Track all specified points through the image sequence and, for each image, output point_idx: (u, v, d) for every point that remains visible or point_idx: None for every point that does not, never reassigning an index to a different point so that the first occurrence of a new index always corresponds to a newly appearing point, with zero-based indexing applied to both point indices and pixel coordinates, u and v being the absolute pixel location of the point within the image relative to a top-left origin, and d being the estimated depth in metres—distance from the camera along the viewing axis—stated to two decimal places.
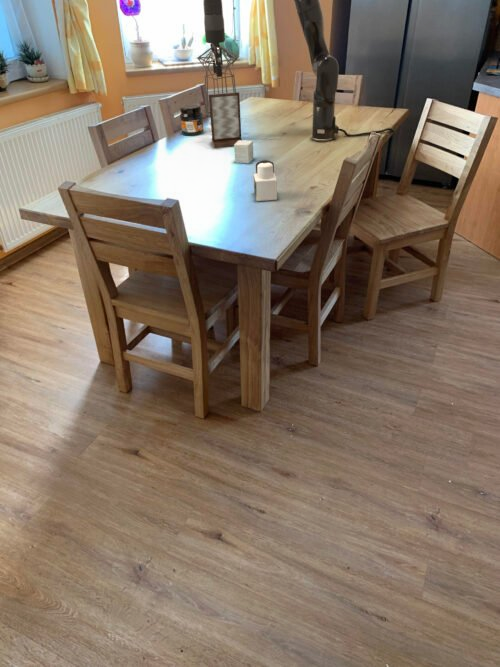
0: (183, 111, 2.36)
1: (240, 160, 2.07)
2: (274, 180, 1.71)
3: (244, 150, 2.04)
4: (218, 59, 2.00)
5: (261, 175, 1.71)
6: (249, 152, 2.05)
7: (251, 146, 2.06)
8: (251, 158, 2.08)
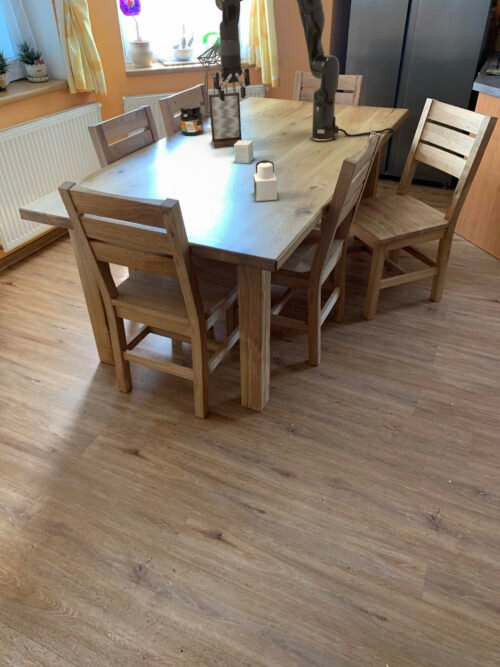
0: (183, 111, 2.36)
1: (240, 160, 2.07)
2: (274, 180, 1.71)
3: (244, 150, 2.04)
4: None
5: (261, 175, 1.71)
6: (249, 152, 2.05)
7: (251, 146, 2.06)
8: (251, 158, 2.08)
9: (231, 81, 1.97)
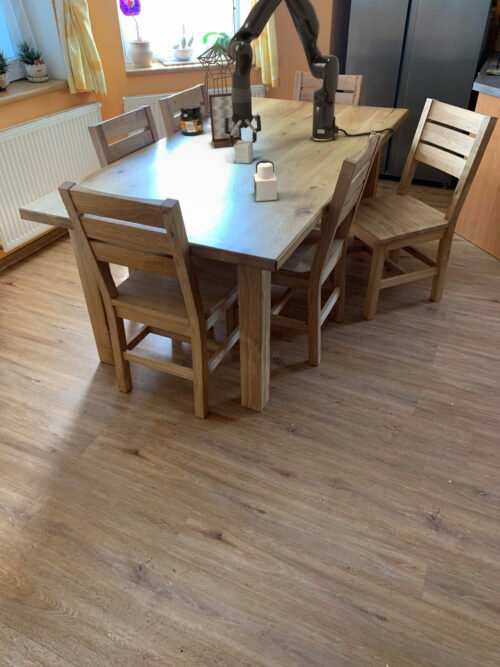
0: (183, 111, 2.36)
1: (240, 161, 2.07)
2: (274, 180, 1.71)
3: (244, 150, 2.04)
4: None
5: (261, 175, 1.71)
6: (249, 152, 2.05)
7: (251, 146, 2.06)
8: (251, 158, 2.08)
9: (241, 126, 2.00)
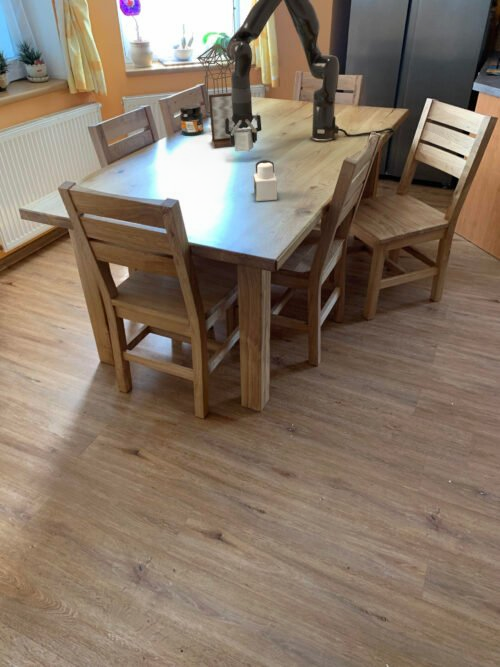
0: (183, 111, 2.36)
1: (240, 149, 2.05)
2: (274, 180, 1.71)
3: (244, 138, 2.02)
4: None
5: (261, 175, 1.71)
6: (249, 140, 2.03)
7: (251, 133, 2.04)
8: (251, 146, 2.06)
9: (241, 126, 2.01)
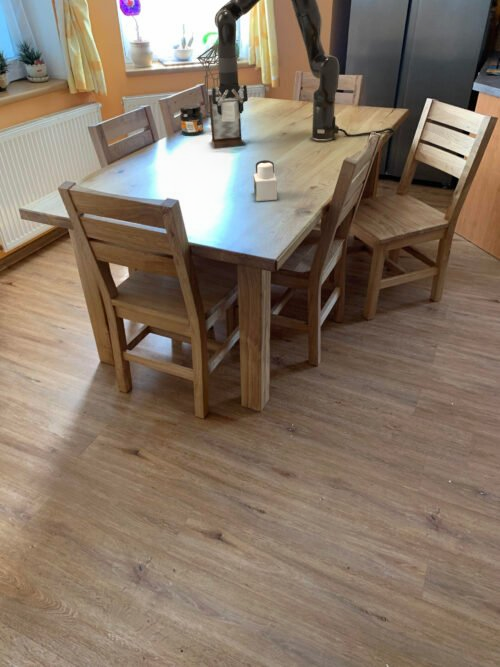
0: (183, 111, 2.36)
1: (227, 119, 2.10)
2: (274, 180, 1.71)
3: (231, 108, 2.06)
4: None
5: (261, 175, 1.71)
6: (235, 110, 2.08)
7: (237, 104, 2.09)
8: (238, 117, 2.11)
9: (228, 96, 2.06)
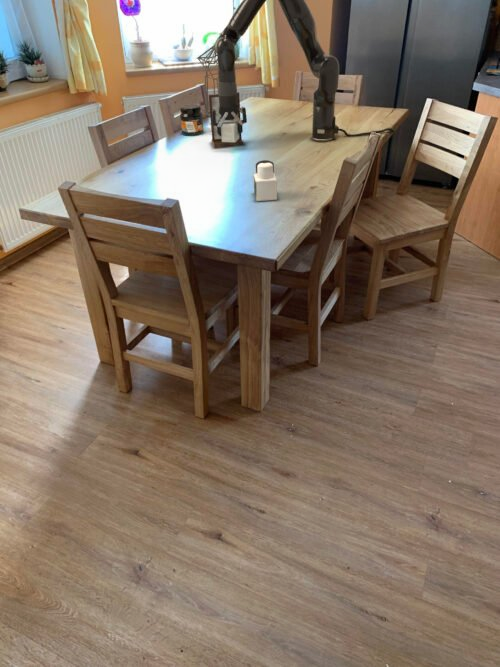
0: (183, 111, 2.36)
1: (227, 140, 2.16)
2: (274, 180, 1.71)
3: (230, 129, 2.13)
4: None
5: (261, 175, 1.71)
6: (235, 131, 2.14)
7: (237, 125, 2.15)
8: (237, 137, 2.17)
9: (228, 118, 2.12)
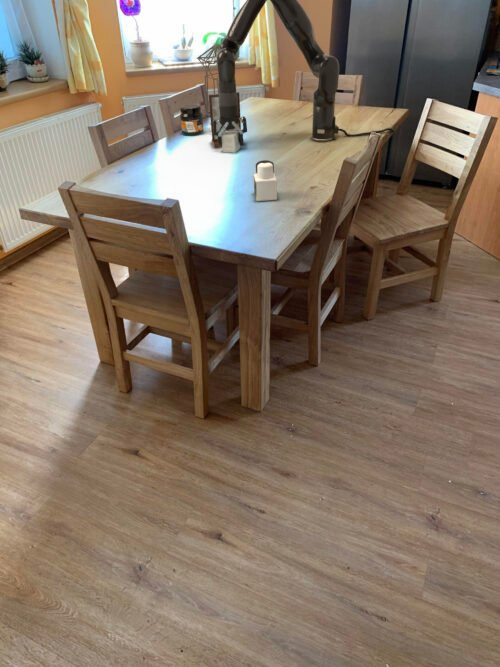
0: (183, 111, 2.36)
1: (227, 150, 2.19)
2: (274, 180, 1.71)
3: (231, 140, 2.16)
4: None
5: (261, 175, 1.71)
6: (235, 141, 2.17)
7: (237, 136, 2.18)
8: (237, 148, 2.20)
9: (228, 128, 2.15)
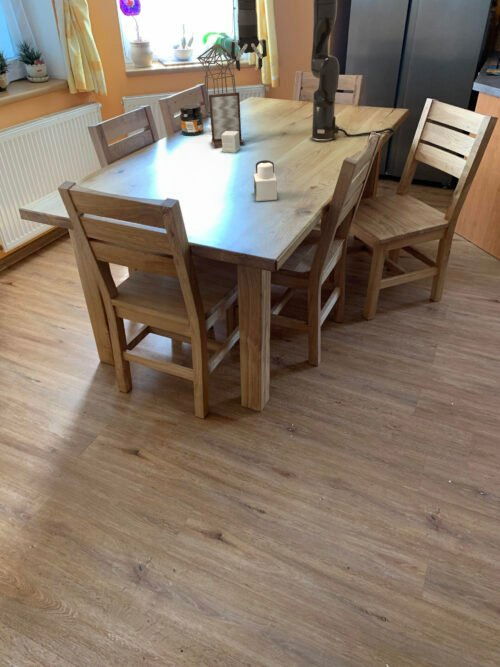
0: (183, 111, 2.36)
1: (228, 150, 2.19)
2: (274, 180, 1.71)
3: (231, 140, 2.16)
4: None
5: (261, 175, 1.71)
6: (236, 141, 2.17)
7: (237, 136, 2.18)
8: (238, 148, 2.20)
9: (247, 51, 2.03)
